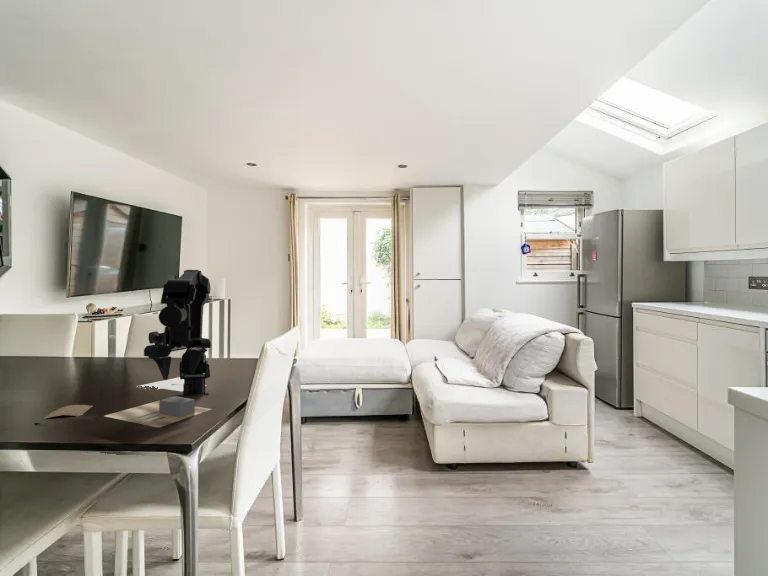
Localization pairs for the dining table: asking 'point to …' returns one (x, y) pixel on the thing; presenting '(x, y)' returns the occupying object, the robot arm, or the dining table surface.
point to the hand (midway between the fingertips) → (179, 376)
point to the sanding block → (177, 407)
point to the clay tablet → (70, 411)
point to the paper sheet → (168, 384)
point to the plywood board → (148, 415)
